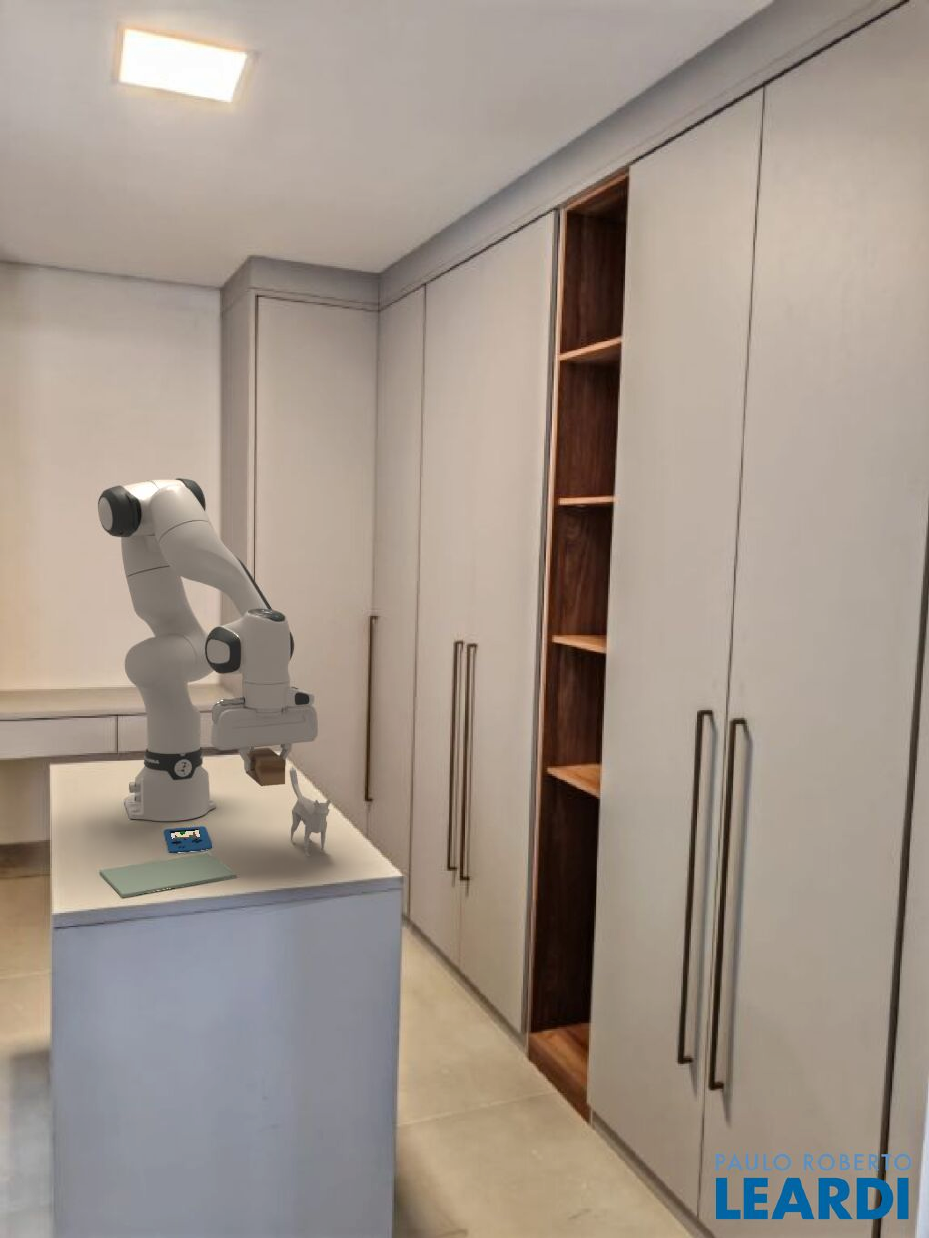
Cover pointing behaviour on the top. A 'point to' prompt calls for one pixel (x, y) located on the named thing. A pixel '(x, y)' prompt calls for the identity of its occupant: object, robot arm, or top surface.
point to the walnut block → (267, 767)
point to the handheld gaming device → (187, 840)
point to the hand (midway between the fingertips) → (265, 768)
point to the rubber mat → (166, 874)
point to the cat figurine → (308, 814)
